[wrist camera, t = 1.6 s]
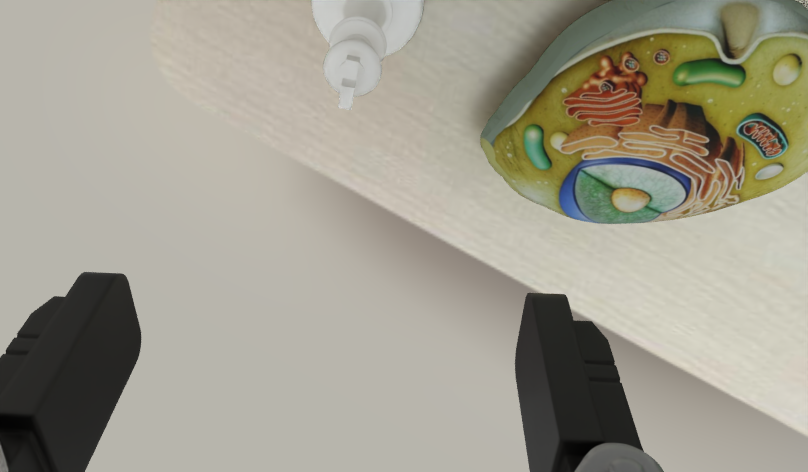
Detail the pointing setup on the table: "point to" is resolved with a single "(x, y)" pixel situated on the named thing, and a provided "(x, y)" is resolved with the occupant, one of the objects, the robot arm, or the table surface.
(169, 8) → the table surface
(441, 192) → the table surface
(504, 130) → the cell model
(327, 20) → the chess piece
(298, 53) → the table surface
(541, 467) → the robot arm
